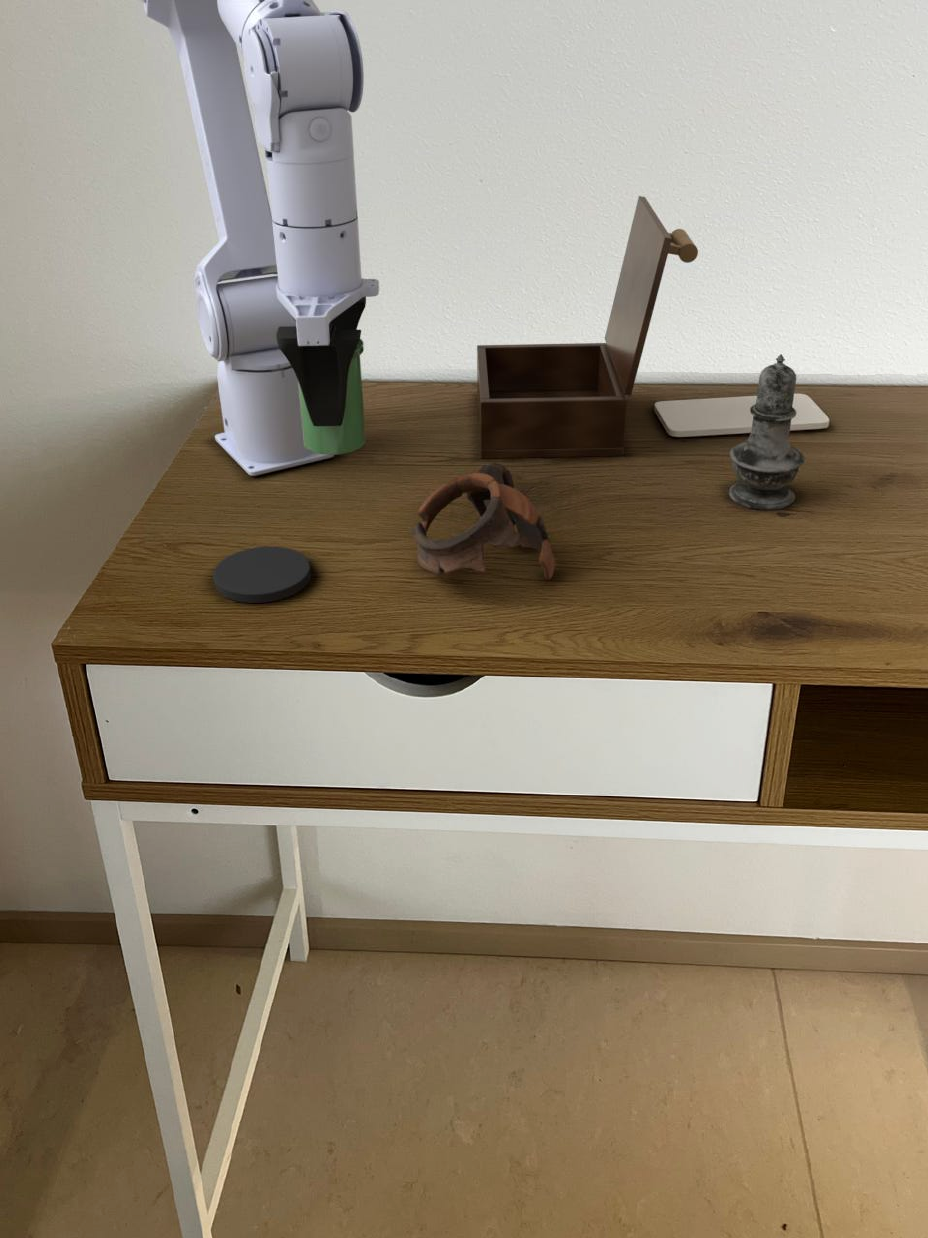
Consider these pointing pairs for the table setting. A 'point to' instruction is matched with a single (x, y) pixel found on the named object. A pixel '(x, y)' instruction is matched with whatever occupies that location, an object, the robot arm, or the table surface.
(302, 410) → the green pot
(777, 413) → the salt shaker
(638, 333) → the lid
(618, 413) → the box
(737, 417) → the smartphone
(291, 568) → the disc
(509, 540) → the broken clay pot rim
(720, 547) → the table surface
